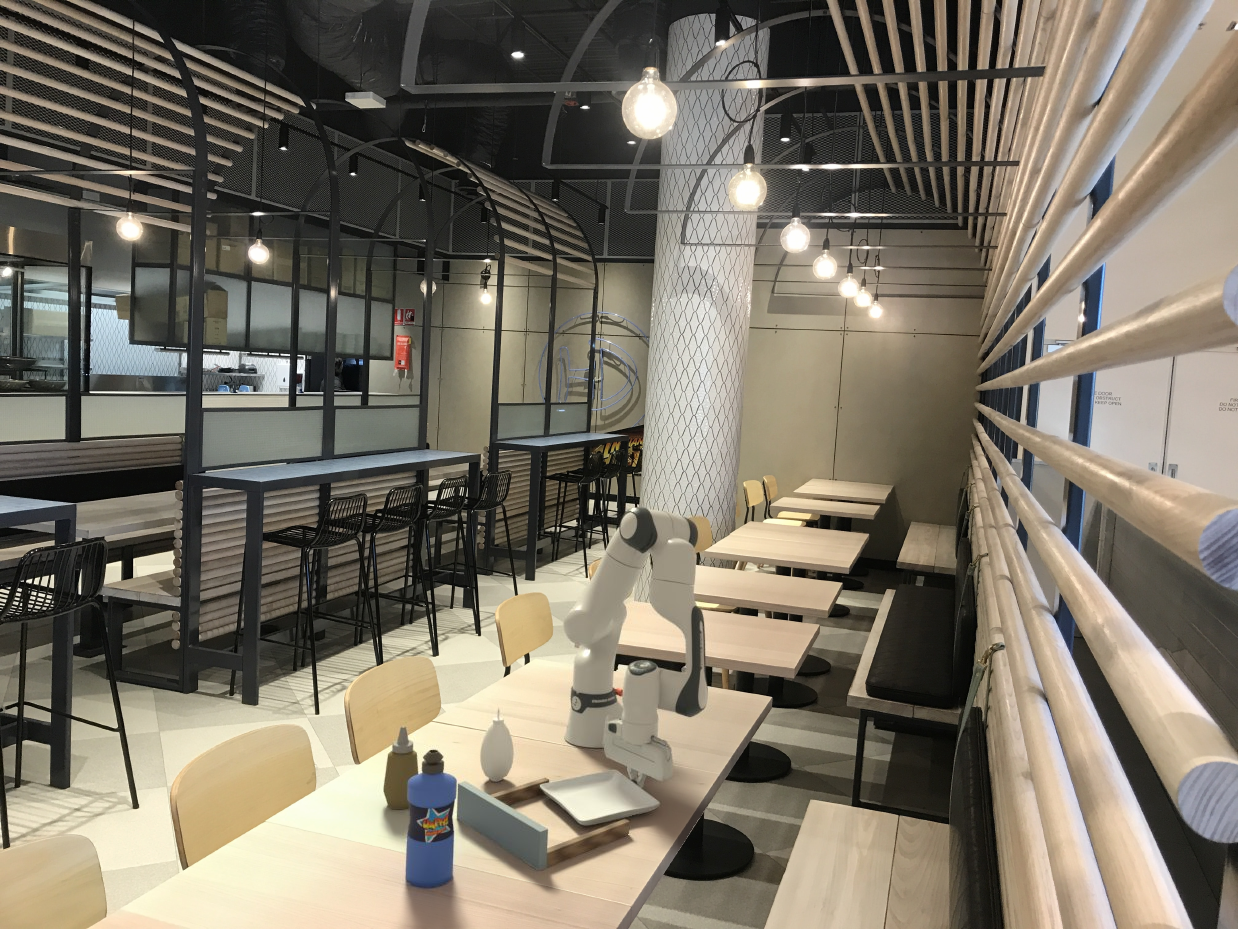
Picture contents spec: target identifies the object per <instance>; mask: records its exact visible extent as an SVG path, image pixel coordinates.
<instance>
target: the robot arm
mask: <svg viewBox="0 0 1238 929" xmlns="http://www.w3.org/2000/svg"><path fill="white" fill-rule="evenodd" d="M698 539H699V530H698V526H697V525H696V524H695V522H694V521H693V520H692V519H690V518H688V517H687V516H684V515H678V514H676V513H673V512H670V511H665V510H659V509H651V508H646V507H643V506H642V507H641V506H640V507H632V508H629V509H627V510H626V511H625V512H624V514H622V516H621V519H620V521H619V526H618V528H617V529H616V531H615V532H614V534H613V535H612V537H611V539H610V541H609V542H608V544H607V546H606V548H605V550H604V553H603V554H602V557H601V558H600V561H599V564H598V566H597V568H596V571H595V572H594V574H593V575H592V577H591V579H590V580H589V582H588V583H587V584H586V586H585V588H584V589H583V591H582V592H581V594H580V596H578V598H577V600H576V602H575V603H574V605H573V607H571V609H570V611H569V612H568V613H567V614H566V616H565V617H564V619H563V624H562V625H563V632H564V634H565V636H566V638H567V639H568V640H569V641H570V642H572V643H573V644H576V645H579V647H578V650H577V652H576V654H575V655H574V660H573V674H572V686H571V688H570V709H569V710H570V711H569V717H568V723H567V725H566V730H565V733H564V740H565V741H566V742H567V743H570V744H572V745H574V746H578V747H582V748H593V749H595V748H602V749H603V750H604V755H605V756H606V758H607V759H610V760H612V761H614V762H617V763H619V764H621V765H624V766H625V767H626V770H627V773H628V776H629V780H631V781H632V782H634V783H635V784H636V785H638V786H639V787H640V788H642V789H643V788H644V786H645V780H646V778H647V777H650V778H652V779H655V780H656V781H659V782H661V783H662V782H666V781H668V780H670V779H672V778H673V776H674V760H673V752H672V747H671V746H670V745H669V743H668V741H667V740H665V739H661V738H660V737H658V736H659V733H658V732H659V713H658V710H663V711H667V712H671V713H676V714H677V715H681V716H684V717H687V718H692V717H695V716H697V715H699V714H701V712H702V711H704V710H705V708H706V706H707V703H708V699H709V697H708V696H709V690H708V680H707V671H706V668H707V667H706V666H707V665H706V632H705V618H704V614H703V610H702V609H701V608H700V607H699V606H697V603H696V599H695V593H694V592H695V591H694V590H695V581H696V569H697V567H696V566H697V563H696V562H697V561H696V557H697V556H696V549H695V547H696V545H697V543H698ZM649 555H651V557H652V570H651V574H650V581H649V586H648V601H649V603H650V605H651V607H652V609H653V610H654V611H655V612H656V613H657V614H658V615H659V616H660V617H661V618H663V619H664V620H666V621H668V622H670V623H671V624H673V625H674V626H675V627H676V628H678V629H679V630H680V631H681V633H682V634H683V637H684V642H685V672H682V671H675V670H671V669H667V668H662V667H658V665H657V664H656V663H655V662H653V661H652V660H645V659H644V660H643V659H641V660H636V661H633V662H630V663H629V664H628V666H627V668H626V670H625V675H624V678H623V686H622V688H620V687H616V688H615V687H614V673H615V671H614V670H615V661H616V655H617V651H618V647H619V643H620V637H621V633H622V629H623V626H624V623H625V622H626V619H627V616H628V611H627V610H628V609H627V607H626V604H625V600H626V599H627V598H628V597H629V595H630V594H631V592H632V591H633V589H634V587H635V584H636V582H637V581H638V579H639V577H640V574H641V572H642V570H643V567H644V566H645V564H646V561H647V559H648V556H649ZM617 696H618V697H622V698H621V699H622V702H620V701H619V700H618V698H617Z"/></svg>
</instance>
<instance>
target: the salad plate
mask: <svg viewBox="0 0 1238 929" xmlns="http://www.w3.org/2000/svg"><path fill="white" fill-rule="evenodd" d="M540 788H541V790H542V791H543V792H544V795H546V796H547V797H548V798H550V799H551V800H552V801H554V802H555V803H556V804H558V805H559V806H560V807H561V808H562V809H563V810H564V811H566V812H567V813H568V814H569V815H570V816H571V817H572V818H573V819H574V820H575V821H576V822H577V823H578V824H580V825H581V826H592V825H598V824H599V825H600V824H603V823H608V822H613V821H616V819H617V820H622V819H626V818H630V817H633V816H632V815H634V816H636V814H637V815H640V814H644V813H648V812H651V811H653V810H655V809H656V808H658V807H659V806H660V804H661V802H660V801H659V800H658V799H656V798H655V797H654V796H653V795H651V794H650V793H648V792H647V791H646V790H644V789H643V788H640V787H639V786H638V785H636V784H635V783H634V782H632V781H631V780H630V778H628V777H627V776H626V775H625V774H623V773H621V772H620V771H619V770H617V769H610V770H604V771H599V772H594V773H589V774H584V775H579V776H575V777H571V778H565V779H560V780H556V781H555V780H554V781H549V783H545V784H541V785H540ZM629 816H630V817H629ZM625 817H626V818H625ZM621 818H622V819H621Z"/></svg>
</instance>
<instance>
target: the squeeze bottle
mask: <svg viewBox="0 0 1238 929" xmlns="http://www.w3.org/2000/svg"><path fill="white" fill-rule="evenodd" d="M399 728H400V729H399V732H398V736H397V739H396V740H394V741H393V742H392V743H391V744H392V746H391V747H392V748H391V749H392V750H391V751H390V752H388V753H387V760H386V766H385V774H384V780H383V782H384V783H383V794H384V798H385V801H386V803H387V806H388V807H389V808H390V807H391V809H394V810H405V808H406V809H409V804H408V799H407V790H408V780H409V779H410V778H411V777H413V776H415V775H418V774H419V764H418V761H419V760H418V754H417V753H418V752H417V751H415V750H414V742H413V741H412V740H410V739H409V736H408V730H407V726H405V725H404V726H402V725H401V726H400V727H399Z"/></svg>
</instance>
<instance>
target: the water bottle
mask: <svg viewBox="0 0 1238 929" xmlns="http://www.w3.org/2000/svg"><path fill="white" fill-rule="evenodd" d="M422 759H423V761H421V773H418V775H415V776H413V777H411V778H410V779H409V780H408V790H407V799H408V804H409V808H408V813H409V815H408V816H409V822H408V827H407V832H406V849H405V850H406V851H405V853H406V854H405V880H406V883H408V884H409V885H410V886H412V887H416V888H420V889H433V888H438V887H441V886H444V885H446V884H448V883H449V882H451V880H452V879H453V875H454V874H453V872H454V852H455V851H454V848H455V847H454V846H455V829H454V819H453V817H454V816H453V815H454V809H455V802H456V799H457V792H458V780H457V778H456V777H455V776H454V775H452V774H450V773H446V772H444V771H445V761H444V760H443V759H444V755H443V754H442V753H441V751H439V750H438V749H430V750H428V751H427V752H426V753H425V754H424V755H423V756H422Z"/></svg>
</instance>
